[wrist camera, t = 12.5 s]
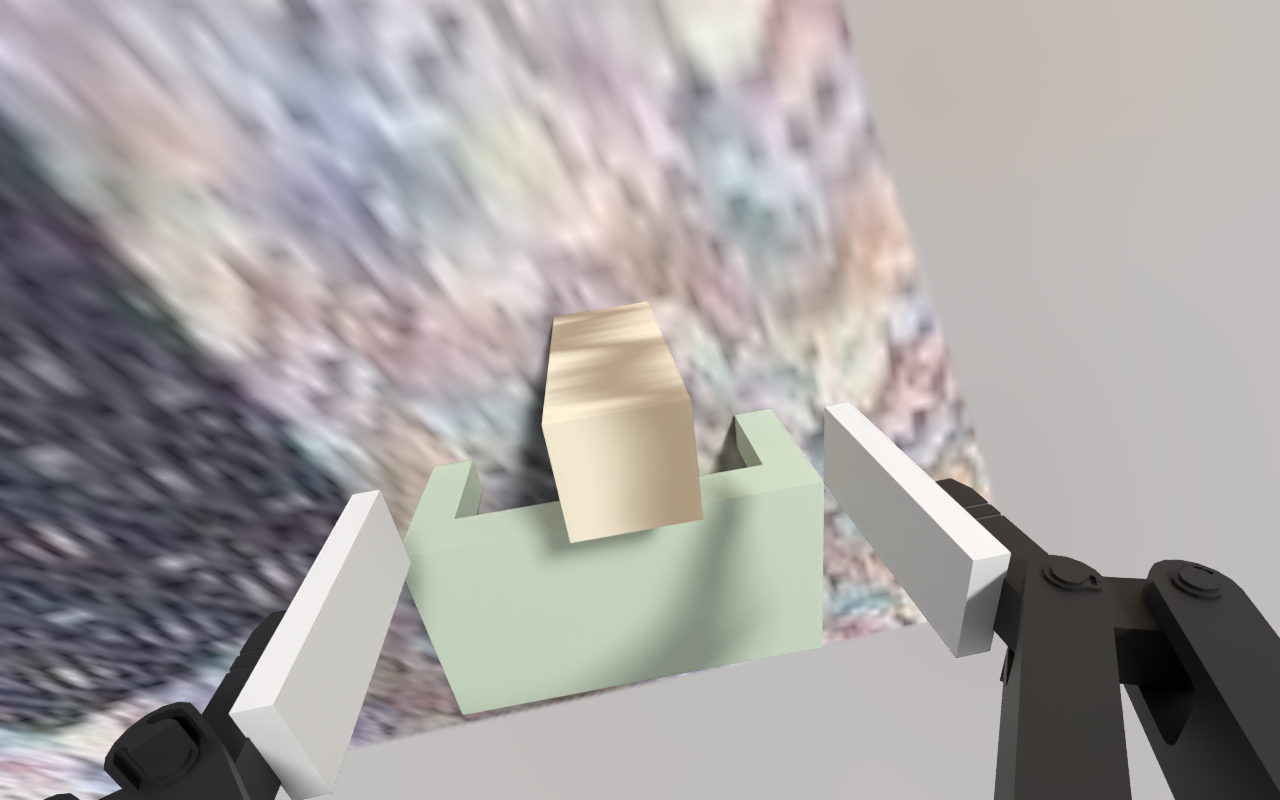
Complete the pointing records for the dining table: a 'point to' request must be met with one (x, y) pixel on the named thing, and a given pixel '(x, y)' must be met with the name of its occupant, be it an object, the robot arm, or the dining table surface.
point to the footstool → (620, 581)
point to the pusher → (618, 425)
